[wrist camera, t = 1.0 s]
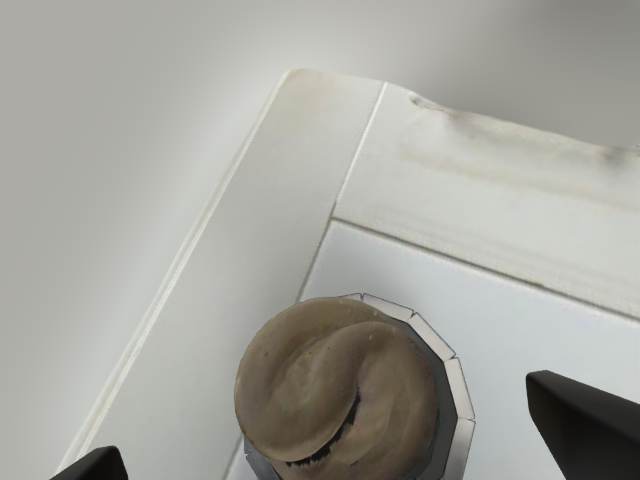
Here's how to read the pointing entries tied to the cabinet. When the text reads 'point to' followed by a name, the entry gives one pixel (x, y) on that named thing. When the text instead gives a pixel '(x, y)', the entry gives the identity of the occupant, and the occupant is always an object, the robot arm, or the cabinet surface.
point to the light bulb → (337, 393)
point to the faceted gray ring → (452, 399)
